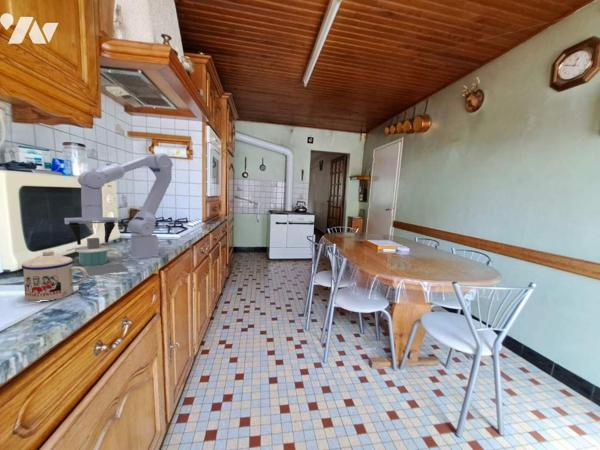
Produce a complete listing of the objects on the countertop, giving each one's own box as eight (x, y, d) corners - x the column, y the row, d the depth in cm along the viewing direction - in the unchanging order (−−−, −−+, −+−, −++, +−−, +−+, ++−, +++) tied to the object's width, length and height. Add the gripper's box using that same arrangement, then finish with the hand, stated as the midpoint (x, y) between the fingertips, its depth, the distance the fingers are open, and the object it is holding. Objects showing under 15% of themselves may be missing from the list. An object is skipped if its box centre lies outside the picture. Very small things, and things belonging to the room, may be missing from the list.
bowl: (104, 260, 96) (104, 246, 95) (108, 264, 91) (108, 250, 90) (78, 263, 90) (78, 248, 90) (81, 268, 85) (80, 252, 85)
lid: (107, 245, 97) (107, 235, 96) (113, 250, 90) (113, 239, 90) (73, 248, 90) (72, 237, 89) (76, 254, 83) (76, 242, 82)
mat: (121, 264, 92) (121, 263, 92) (129, 271, 85) (129, 270, 85) (84, 269, 84) (84, 267, 84) (89, 277, 77) (89, 276, 77)
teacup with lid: (14, 305, 57) (10, 256, 56) (36, 290, 66) (34, 247, 64) (80, 300, 62) (78, 254, 61) (93, 287, 70) (92, 246, 69)
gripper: (65, 206, 80) (66, 247, 82) (119, 206, 91) (120, 243, 92) (63, 204, 85) (64, 243, 86) (115, 205, 96) (115, 240, 97)
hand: (93, 243), depth 90 cm, fingers open, 7 cm apart
